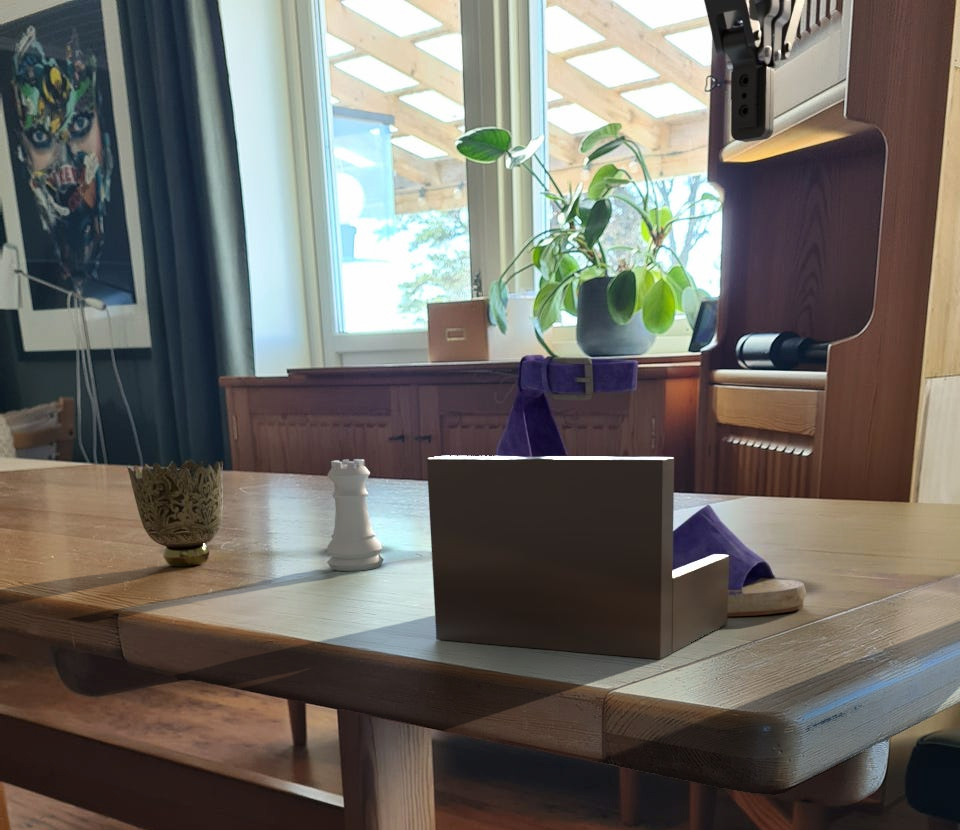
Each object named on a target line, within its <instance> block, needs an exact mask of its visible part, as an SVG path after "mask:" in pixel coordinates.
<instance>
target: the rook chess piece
mask: <svg viewBox="0 0 960 830" xmlns="http://www.w3.org/2000/svg"><path fill="white" fill-rule="evenodd" d="M352 460H353V461H350V460H349V459H342V461H340V460H331V461H330V464H331V467H330V470H329V471H328V473H327V477H328V478H329V479H330V480H331V482H332V484H333V486H334V487H333V488H334V491H333V493H332V494H331V496H332V497H333V499H334V506H335V513H334V528H333V532H332V533H333V534H331V535H330V537H331V540H330V542H329V543H328V544H327V547H326V552H327V553H328V554H329V555H330V556H331V557H330V558H329V559H328V560H327V561H326V563H327V564H328V566H329V567H330V568H331V570H332V571H337V572H359V571H368V570H369V571H370V570H374V569H378V568H379V567H381V565H382V564H383V562H384V561H385V559H384V558H383V557H382V556H380V555H379V554H380V552H381V551H382V549H383V546H382V543H381V542H380V541H379V540H378V539H377V538H376V533H375V532H374V530H373V527H372V524H371V520H370V515H369V510H368V501H367V498H368V496H369V492H368V491H367V488H366V481H367V480H368V478H369V476H370V474H371V472H370V471H369V470H368V469H369V468H367V467H366V463H365V462H366V461H365V459H360V458H356V459H352Z"/></svg>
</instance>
